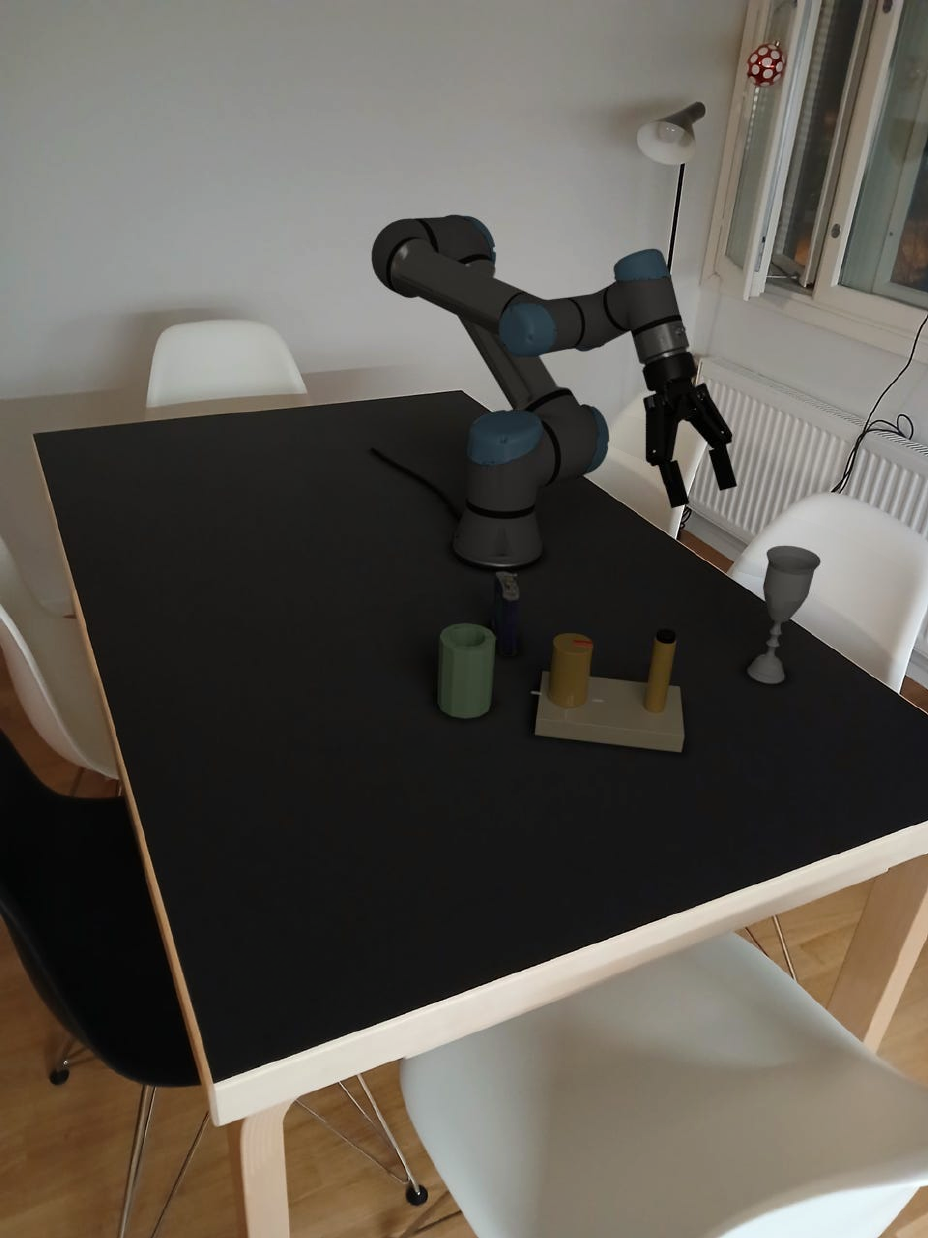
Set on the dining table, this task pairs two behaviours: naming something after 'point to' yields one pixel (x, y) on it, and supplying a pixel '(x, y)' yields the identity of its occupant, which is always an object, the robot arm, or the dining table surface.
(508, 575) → the flask
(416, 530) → the dining table surface
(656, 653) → the brown tall cylinder
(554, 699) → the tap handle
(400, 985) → the dining table surface
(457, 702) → the sleeve
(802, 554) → the chalice
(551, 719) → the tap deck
